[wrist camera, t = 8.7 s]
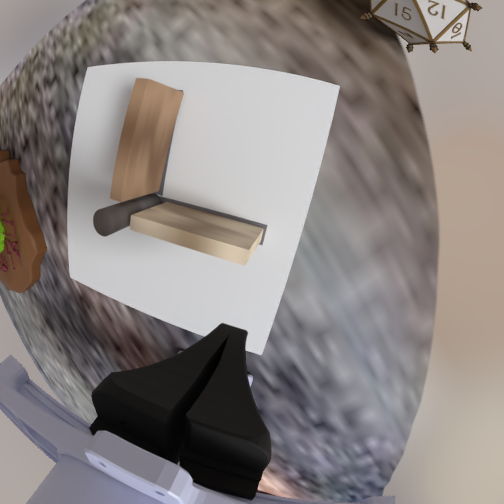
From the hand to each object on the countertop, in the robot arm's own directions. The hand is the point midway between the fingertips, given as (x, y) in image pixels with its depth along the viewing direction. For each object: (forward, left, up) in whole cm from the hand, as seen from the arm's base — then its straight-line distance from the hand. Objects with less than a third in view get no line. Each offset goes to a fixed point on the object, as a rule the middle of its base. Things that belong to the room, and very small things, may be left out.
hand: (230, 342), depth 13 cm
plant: (-6, +37, -10) cm, 39 cm away
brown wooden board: (+8, +10, -9) cm, 15 cm away
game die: (+23, -6, -10) cm, 25 cm away
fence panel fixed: (+3, +6, -9) cm, 11 cm away
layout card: (+3, +10, -9) cm, 14 cm away
